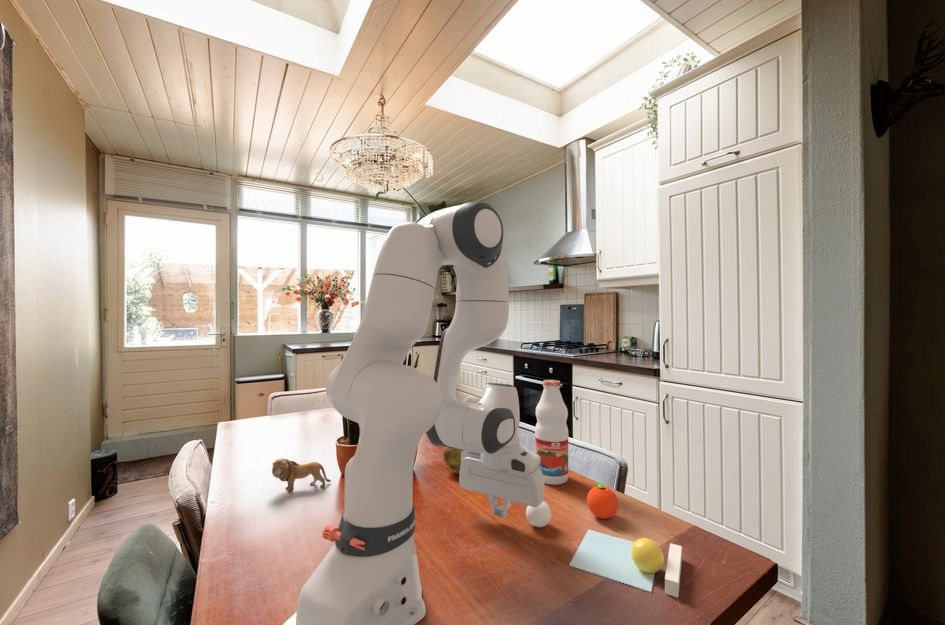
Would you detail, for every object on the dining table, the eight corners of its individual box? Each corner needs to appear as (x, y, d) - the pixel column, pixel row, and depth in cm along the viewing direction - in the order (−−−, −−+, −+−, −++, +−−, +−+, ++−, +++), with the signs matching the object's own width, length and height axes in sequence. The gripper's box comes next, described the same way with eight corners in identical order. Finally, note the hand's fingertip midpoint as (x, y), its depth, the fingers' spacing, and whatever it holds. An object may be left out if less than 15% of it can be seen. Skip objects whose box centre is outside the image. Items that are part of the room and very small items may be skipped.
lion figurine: (272, 499, 100) (272, 463, 100) (271, 491, 104) (271, 457, 104) (332, 486, 107) (332, 453, 107) (328, 479, 112) (329, 447, 112)
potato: (477, 484, 109) (477, 455, 109) (439, 474, 115) (439, 447, 115) (491, 473, 116) (491, 446, 116) (454, 465, 122) (454, 439, 122)
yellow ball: (660, 585, 68) (664, 555, 68) (627, 571, 71) (630, 542, 71) (663, 568, 73) (666, 539, 73) (631, 555, 76) (635, 528, 76)
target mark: (651, 592, 66) (651, 591, 66) (569, 565, 73) (569, 564, 73) (659, 550, 78) (659, 549, 78) (588, 530, 85) (588, 529, 85)
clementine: (581, 507, 95) (581, 478, 95) (608, 506, 96) (608, 477, 96) (593, 525, 87) (593, 493, 87) (623, 524, 88) (623, 492, 88)
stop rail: (678, 598, 65) (678, 582, 65) (664, 593, 66) (664, 578, 66) (681, 559, 75) (681, 546, 75) (670, 555, 76) (670, 543, 76)
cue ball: (530, 491, 88) (522, 516, 85) (554, 500, 86) (546, 526, 83) (531, 501, 92) (523, 525, 88) (554, 510, 90) (547, 534, 86)
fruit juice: (565, 472, 117) (565, 378, 117) (571, 486, 107) (571, 384, 108) (533, 471, 117) (533, 378, 118) (536, 485, 108) (536, 383, 108)
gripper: (453, 449, 91) (453, 509, 91) (536, 467, 81) (536, 534, 81) (468, 442, 97) (468, 498, 96) (547, 458, 86) (547, 521, 86)
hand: (500, 515), depth 88 cm, fingers closed
